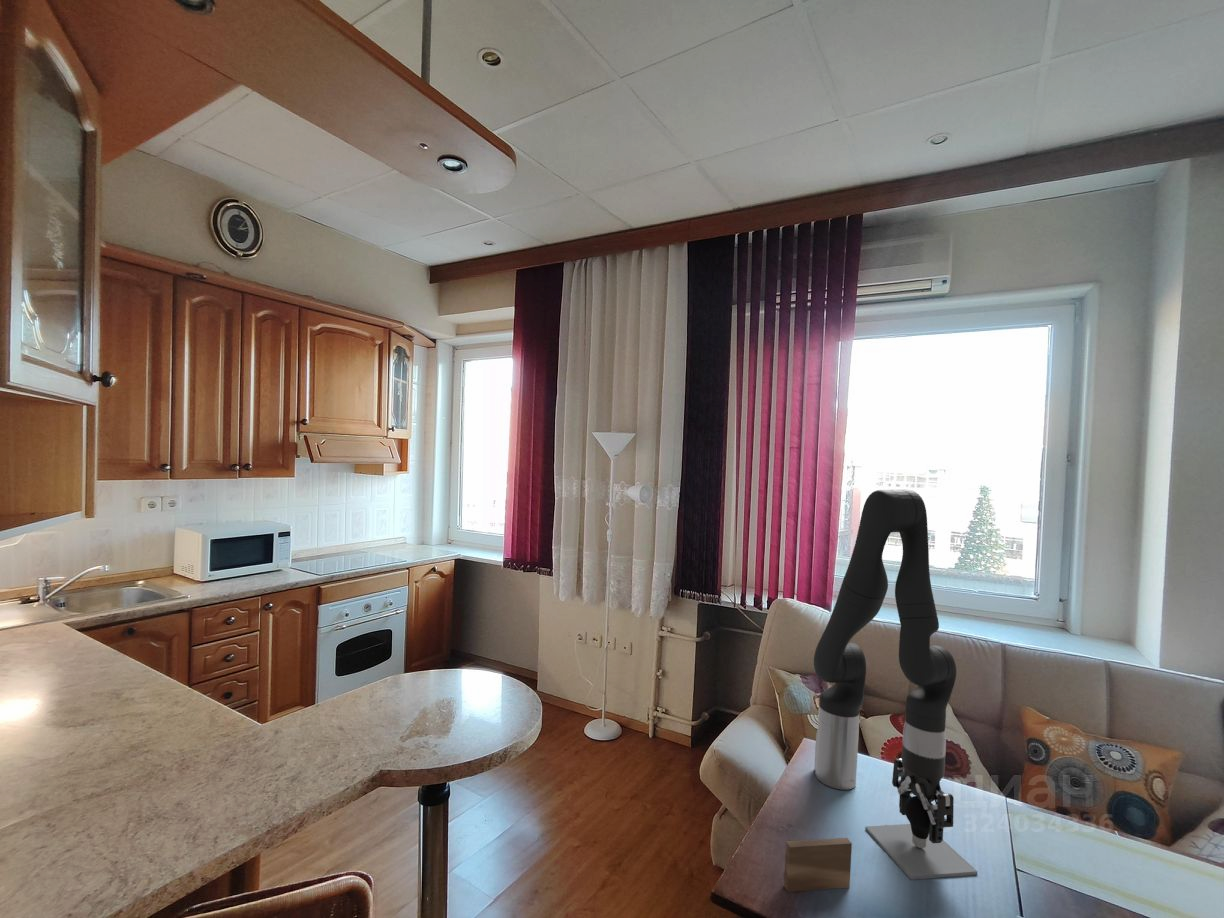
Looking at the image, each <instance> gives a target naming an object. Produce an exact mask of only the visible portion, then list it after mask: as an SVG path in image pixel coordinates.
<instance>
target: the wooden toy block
mask: <svg viewBox="0 0 1224 918" xmlns="http://www.w3.org/2000/svg"><path fill="white" fill-rule="evenodd" d="M852 846H853V843H852V842H851V840H850V839H849V838H848V837H839V838H837V837H836V838H821V839H820V838H819V839H818V838H817V839H805V840H803V839H802V840H788V841H787V840H786V841H785V851H784V852H785V853H784V854H785V855H784V874H783V887H784V889H785V891H787V893H795V892H796V893H797V892H808V891H821V890H831V889H830V888H833V889H832V890H834V889H835V888H836V889H845V888H846V889H847V888H851V887H850V885H851V883H850V882H851V867H852V866H851V865H852V851H853V850H852V848H853V847H852Z"/></svg>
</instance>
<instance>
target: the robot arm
mask: <svg viewBox="0 0 1224 918" xmlns="http://www.w3.org/2000/svg"><path fill="white" fill-rule="evenodd" d="M860 516H861V517H860V521H859V523H858V524H859V525H858V529H857V535H856V539H855V544H854V546H853V550H852V554H851V556H850V558H849V559H850V560H849V564H848V567H847V569H846V572H845V574H844V577H843V580H842V582H841V586H840V589H839V590H838V591H839V592H838V595H837V599H836V601H835V603H834V604H835V605H834V606H833V610H832V612H831V616H830V618H829V620H828V622H827V625H826V626H825V628H824V631H823V632H822V634H821V637H820V639H819V640H818V643H817V645H816V647H815V651H814V655H813V668H814V669H813V670H814V673H815V674H816V676H817V677H818V678H819V679H820V680H821V681H823V682H826V683H833V685H831V687H829V688H827V689H824V690H823V691H821V693H820V694H819V697H818V717H817V718H818V721H817V731H816V733H815V746H814V747H815V748H814V750H815V752H814V768H813V769H814V770H815V771H814V773H815V777H816V779H817V780H819V782H821V783H822V784H823V785H825V786H828V787H830V788H833V789H837V790H851V789H854V788H855V787H856V784H857V772H858V771H857V770H858V752H859V732H860V714H861V713H860V710H861V707H862V705H863V701H864V697H865V696H864V695H865V687H866V686H865V685H866V677H867V660H866V657H865V654H864V651H863V650H862V648H861V646H859V644H857V643H855V642H851V640H852V639H853V637H854V636H855V635H856V634H857V633H858V632H860V631H861V630H862V629H863V628H865V627H866V626H867V625H868V624H869V623H870V622H871V621H873V620H874V618H875V617H876V616H877V615H878V614H879V612H880V610H881V607H882V606H883V603H884V600H885V597H886V595H887V591H888V588H889V579H888V573H887V571H886V568H885V565H884V562H883V561H884V560H883V553H884V549H885V545H886V543H887V541H888V539H889V537H890V534H892V533H899V535H900V540H901V545H902V557H901V563H900V567H899V571H898V574H897V576H896V580H895V585H894V598H895V603H896V604H895V605H896V608H897V614H898V618H899V619H898V620H899V623H900V630H899V641H898V662H899V666H900V669H901V671H902V673H903V675H904V677H905V678H906V679H907V680H908V681H909V682H910V683H912V684H913V685H916V686H917V687H916V688H915V689H914V690H912V691H911V692H909V693H908V694H907V697H906V702H905V715H904V716H905V718H904V726H903V729H902V730H903V731H902V747H901V748H902V749H901V751H902V752H901V757H900V758H894V760H893V769H892V770H893V771H892V778H891V780H892V781H891V783H892V786H893V787H895V788H896V789H897V794H898V795H899V801H898V802H899V803H898V804H899V805H898V806H899V813H900V814H901V815H902V816H906V814H905V804H906V802H907V800H908V799H909V798H911V797H912V796H911V795H913V796H917V797H918V798H919V800H920V801H922V804H923V807H924V809H925V810H926V811H927V812H928V815H929V818H930V821H931V822H930V829H929V840H930V841H931V842H932V843H941V842H942V840H944V828H953V827H954V802H955V801H954V795H953V794H952V793H946V792H944V790H942V788H941V783H940V782H941V780H942V779H943V778H944V776H945V772H946V771H945V769H946V754H947V753H946V749H947V739H946V737H947V736H946V721H947V720H946V719H947V718H946V717H947V706H948V703H949V701H950V700H951V696H952V693H953V689H954V686H955V683H956V681H957V680H956V679H957V665H956V661H955V659H954V657H953V655H952V654H951V652H950V651H949V650H948V649H946V648H944V647H943V646H941V645H931V644H930V643H931V637H932V635H934V634H935V633H936V632H937V631H939V628H940V623H939V619H938V618H939V617H938V614H937V613H938V612H937V608H936V607H937V606H936V603H935V599H934V594H933V589H932V583H931V577H930V576H931V574H930V556H929V554H930V553H929V534H928V533H929V532H928V530H929V529H928V517H927V507H926V504H925V502H924V500H923V498H922V497H921V495H920V494H919V493H917V491H914V490H911V489H878V490H874V491H873V492H871V493H870V494H869V495H868V496H867V498H866V500H865V502H864V505H863V508H862V511H861V515H860ZM899 778H900V779H899ZM928 802H931V803H932V802H934V803H935V804H933V805H930V804H929V803H928ZM933 810H936V812H937V817H935V815H934V812H933ZM945 816H946V817H945Z"/></svg>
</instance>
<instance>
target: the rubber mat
mask: <svg viewBox="0 0 1224 918" xmlns="http://www.w3.org/2000/svg"><path fill="white" fill-rule="evenodd" d="M864 829H866V830H867V831H868V832H869V833H870V834H871V835H870V834H869V833H868V832H867V833H868V834H869V835H870V837H872V839H874V841H877V842H878V843H879V844H878V843H877V842H876V843H877V844H878V845H879V846H880V847H881V848H882V849H883V850H884V852H886V854H887V855H888V856H889V857H890V858H891V859H892V860H893V861H894V863H895V864H896V865H897V866H898V867H899V868H900V869H901V870H902V871H903V872H904V874H906V875H907V877H908V878H909V879H910V880H921V879H923V880H924V879H925V880H926V879H936V878H948V877H949V878H951V877H961V876H962V877H964V876H975V875H978V870H977V869H975V867H974V866H972V865H971V864H970V863H969V862H968V861H967V860H966V859H965V858H963V857H962V855H960V854H959V853H958V852H957V851H956V850H955V849H954V848H953V847H951V846H950V844H949V843H947V842H946V841H945V840H944V839H943V840H942V842H941V843H932V842H931V841H930V840H929V835H928V838H927V839H926V847H925V848H921V849H919V848H917V847H916V846H915V845H914V844H913V842H912V837H913V836H912V835H913V834H912V830H911V824H910V823H904V824H903V823H902V824H901V823H899V824H888V825H872V826H871V825H869V826H867V825H866V826H865V828H864Z"/></svg>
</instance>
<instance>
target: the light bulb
mask: <svg viewBox="0 0 1224 918" xmlns="http://www.w3.org/2000/svg"><path fill="white" fill-rule="evenodd" d="M928 803H929V804H930V805H934V803H932V802H928ZM933 812H934V815H935V817H937V812H936V810H933ZM905 814H906V815H905V817H906V819H907V821H908V822H909V824H911V830H912V834H913V835H912V836H913V837H912V842H913V844H914V845H915V846H916V847H917V848H919V849H921V848H925V847H926V839H927V838H928V835H929V829H930V822H931V821H930V818H929V815H928V812H927V811H926V810H925V809H924V807H923V804H922V801H920V800H919V798H918V797H917V796H915V795H913V796H911V798H909V799H908V800H907V802H906V804H905Z"/></svg>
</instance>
